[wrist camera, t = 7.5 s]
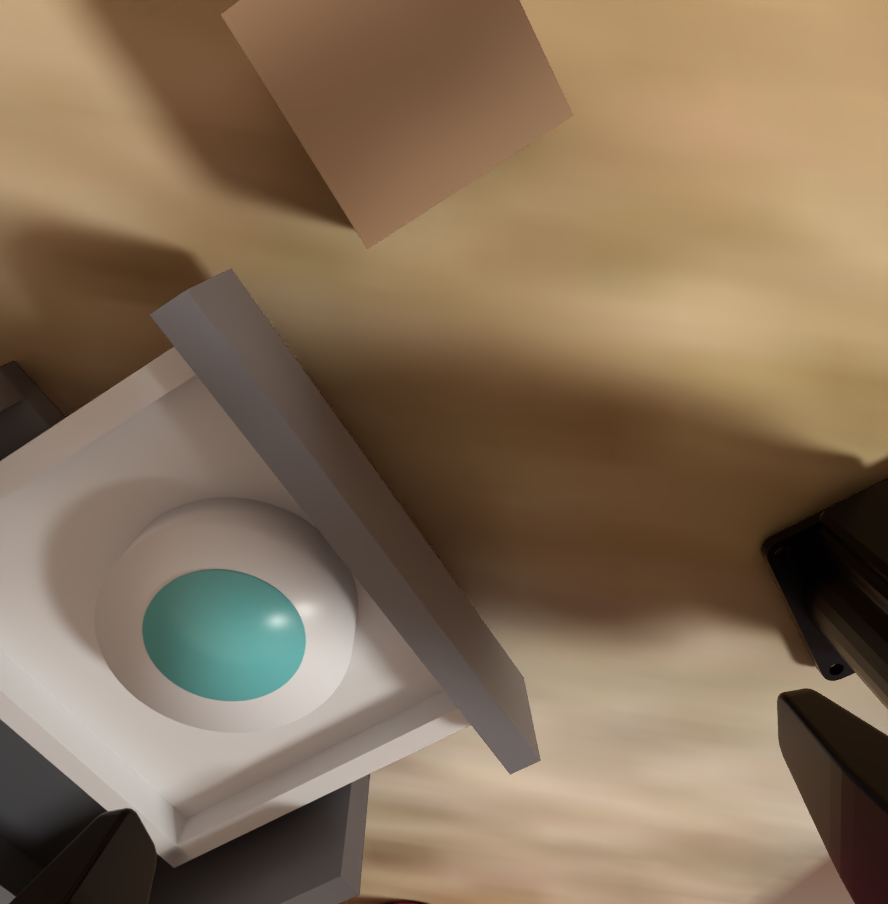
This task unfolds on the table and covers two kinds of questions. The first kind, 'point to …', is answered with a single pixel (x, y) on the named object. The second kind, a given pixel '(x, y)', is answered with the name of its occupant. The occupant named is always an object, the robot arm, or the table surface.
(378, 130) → the block
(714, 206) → the table surface
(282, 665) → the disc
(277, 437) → the tray
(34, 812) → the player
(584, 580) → the table surface
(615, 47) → the table surface
